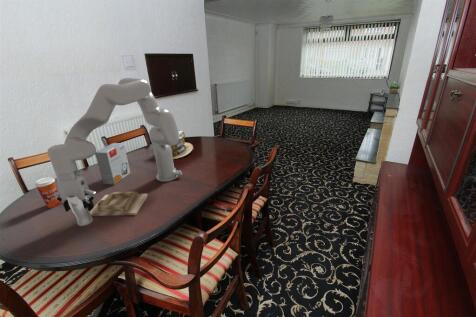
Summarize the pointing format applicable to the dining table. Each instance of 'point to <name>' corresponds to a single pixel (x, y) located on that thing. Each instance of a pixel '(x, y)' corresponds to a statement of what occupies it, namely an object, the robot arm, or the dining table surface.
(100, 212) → the pocket board
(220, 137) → the dining table surface
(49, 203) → the paper cup
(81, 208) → the beer glass
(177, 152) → the gold white round stack
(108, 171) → the hard drive box
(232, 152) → the dining table surface
